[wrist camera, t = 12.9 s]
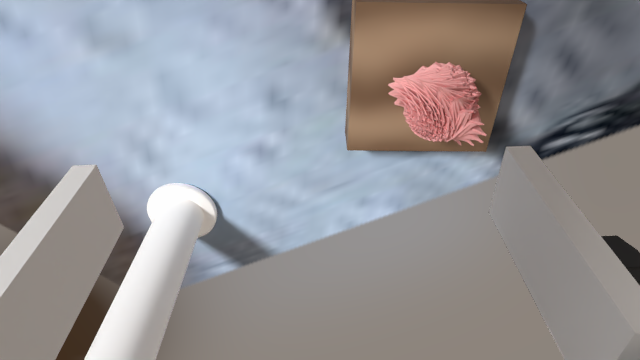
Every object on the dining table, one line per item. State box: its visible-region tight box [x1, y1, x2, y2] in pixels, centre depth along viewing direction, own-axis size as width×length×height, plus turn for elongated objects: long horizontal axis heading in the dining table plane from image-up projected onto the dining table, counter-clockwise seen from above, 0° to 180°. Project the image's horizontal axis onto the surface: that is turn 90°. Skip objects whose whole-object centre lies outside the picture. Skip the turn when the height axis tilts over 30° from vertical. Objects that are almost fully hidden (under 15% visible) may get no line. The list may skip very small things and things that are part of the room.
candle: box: [84, 183, 217, 360], centre depth 34 cm, size 7×7×25 cm
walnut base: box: [345, 0, 527, 151], centre depth 34 cm, size 12×12×4 cm
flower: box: [388, 62, 486, 146], centre depth 30 cm, size 8×8×6 cm
